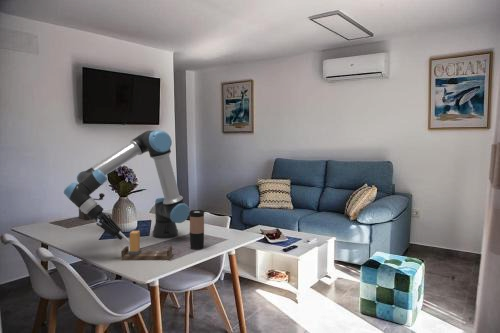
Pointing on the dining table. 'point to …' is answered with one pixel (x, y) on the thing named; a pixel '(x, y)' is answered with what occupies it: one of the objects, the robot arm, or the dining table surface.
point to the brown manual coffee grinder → (84, 216)
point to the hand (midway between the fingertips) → (127, 242)
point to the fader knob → (134, 243)
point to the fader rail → (147, 255)
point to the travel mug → (197, 229)
